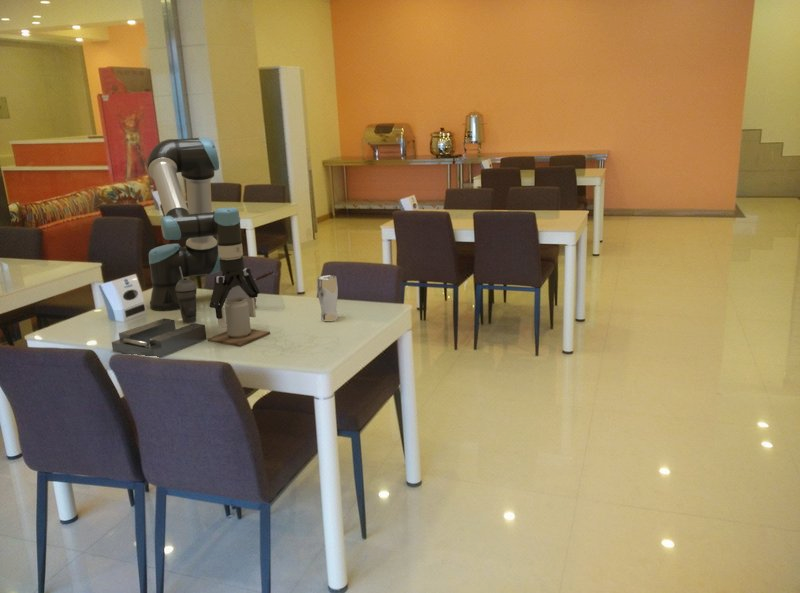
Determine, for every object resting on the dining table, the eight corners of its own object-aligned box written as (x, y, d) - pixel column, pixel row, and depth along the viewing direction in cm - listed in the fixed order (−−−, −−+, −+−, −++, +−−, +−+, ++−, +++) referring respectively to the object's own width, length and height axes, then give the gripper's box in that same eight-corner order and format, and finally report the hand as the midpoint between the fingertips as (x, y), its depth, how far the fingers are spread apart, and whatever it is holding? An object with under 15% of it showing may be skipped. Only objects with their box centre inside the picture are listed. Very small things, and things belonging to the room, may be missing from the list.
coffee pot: (220, 312, 256) (215, 272, 252) (234, 304, 267) (230, 266, 263) (273, 314, 251) (269, 273, 247) (286, 305, 262) (282, 267, 258)
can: (245, 338, 221) (241, 302, 218) (223, 338, 222) (219, 302, 219) (254, 331, 228) (251, 296, 225) (233, 331, 229) (230, 296, 226)
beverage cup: (197, 324, 242) (190, 268, 237) (176, 324, 242) (169, 268, 237) (202, 318, 249) (196, 263, 244) (182, 319, 249) (175, 264, 244)
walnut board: (207, 341, 223) (207, 338, 222) (238, 329, 234) (238, 326, 234) (240, 346, 216) (240, 344, 215) (270, 334, 227) (269, 331, 227)
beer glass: (316, 321, 239) (313, 279, 236) (324, 316, 246) (321, 274, 242) (334, 322, 237) (332, 280, 234) (342, 317, 244) (340, 275, 240)
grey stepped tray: (112, 351, 216) (110, 335, 215) (165, 332, 234) (164, 318, 232) (154, 359, 207) (152, 343, 205) (206, 339, 224) (205, 324, 223)
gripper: (210, 266, 206) (218, 334, 211) (266, 251, 227) (272, 313, 232) (192, 264, 210) (200, 331, 215) (249, 249, 231) (255, 311, 236)
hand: (237, 322), depth 224 cm, fingers open, 13 cm apart
